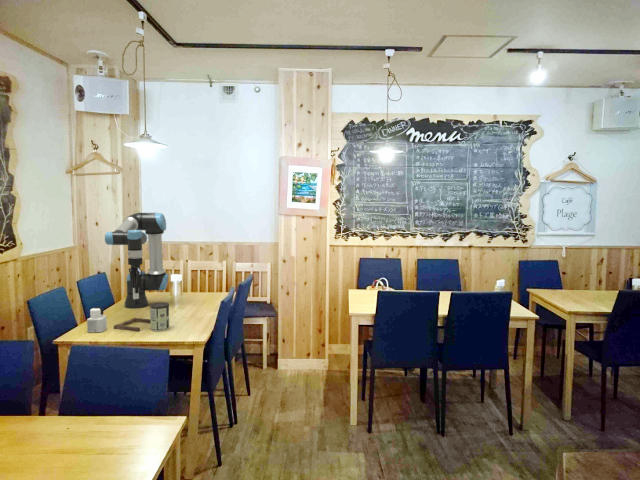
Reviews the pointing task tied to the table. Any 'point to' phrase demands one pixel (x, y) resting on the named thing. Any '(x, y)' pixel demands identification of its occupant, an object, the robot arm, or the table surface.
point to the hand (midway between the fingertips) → (136, 298)
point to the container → (96, 320)
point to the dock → (123, 325)
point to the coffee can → (159, 316)
